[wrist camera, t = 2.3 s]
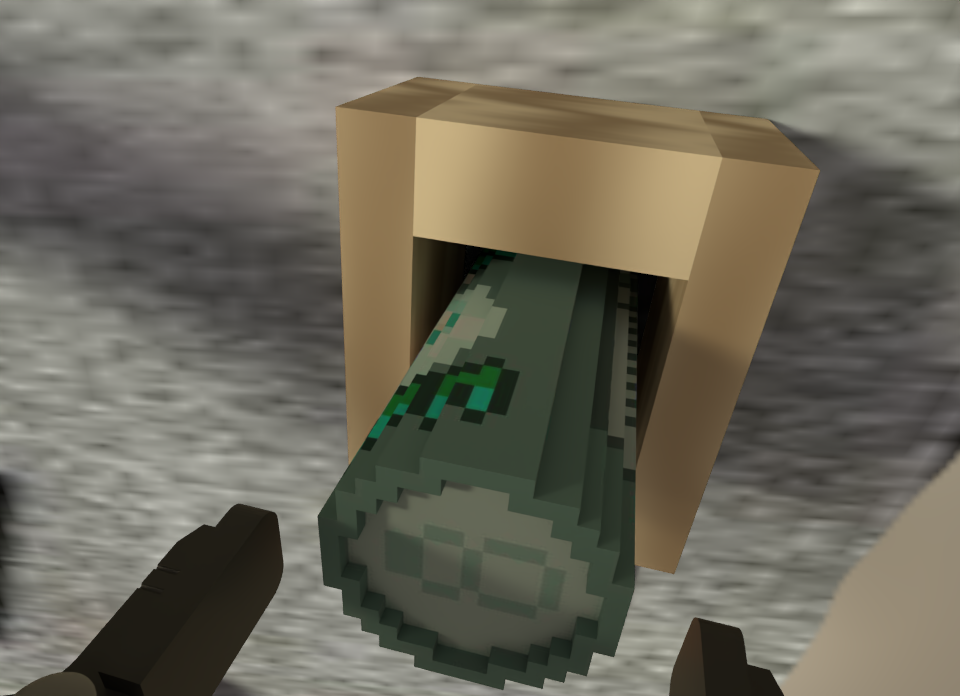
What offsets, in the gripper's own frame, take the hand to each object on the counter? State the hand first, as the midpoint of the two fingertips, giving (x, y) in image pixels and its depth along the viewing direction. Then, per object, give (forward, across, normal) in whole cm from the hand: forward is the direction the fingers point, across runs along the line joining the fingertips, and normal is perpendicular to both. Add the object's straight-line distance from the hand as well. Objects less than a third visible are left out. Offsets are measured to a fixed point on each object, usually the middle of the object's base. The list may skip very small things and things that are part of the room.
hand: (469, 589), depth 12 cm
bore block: (+15, 0, 0) cm, 15 cm away
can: (+15, 0, 0) cm, 15 cm away
